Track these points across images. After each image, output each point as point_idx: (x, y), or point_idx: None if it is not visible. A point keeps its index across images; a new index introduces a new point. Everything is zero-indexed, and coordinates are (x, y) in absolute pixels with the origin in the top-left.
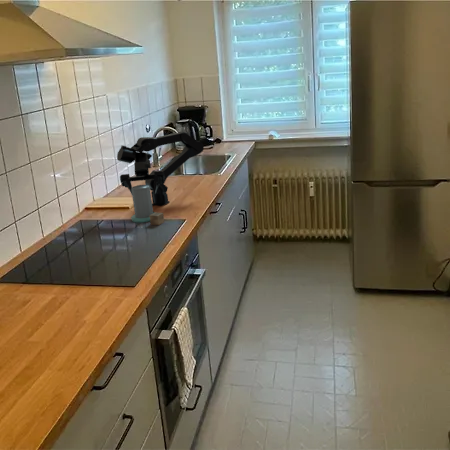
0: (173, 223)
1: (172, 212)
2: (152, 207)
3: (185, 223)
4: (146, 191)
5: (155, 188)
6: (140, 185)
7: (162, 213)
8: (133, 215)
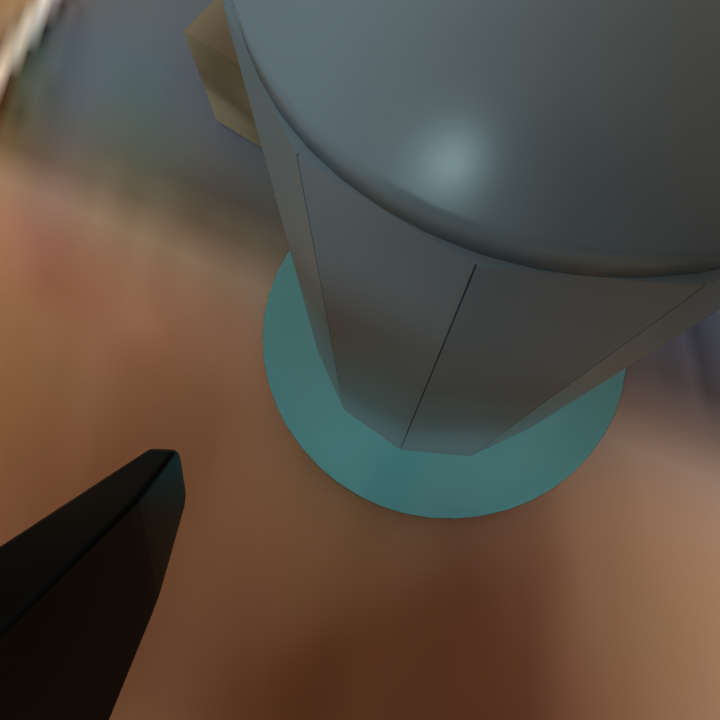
0: (131, 60)
1: (54, 481)
2: (308, 315)
3: (19, 19)
4: None
5: (42, 523)
6: (637, 152)
7: (195, 22)
8: (605, 409)
